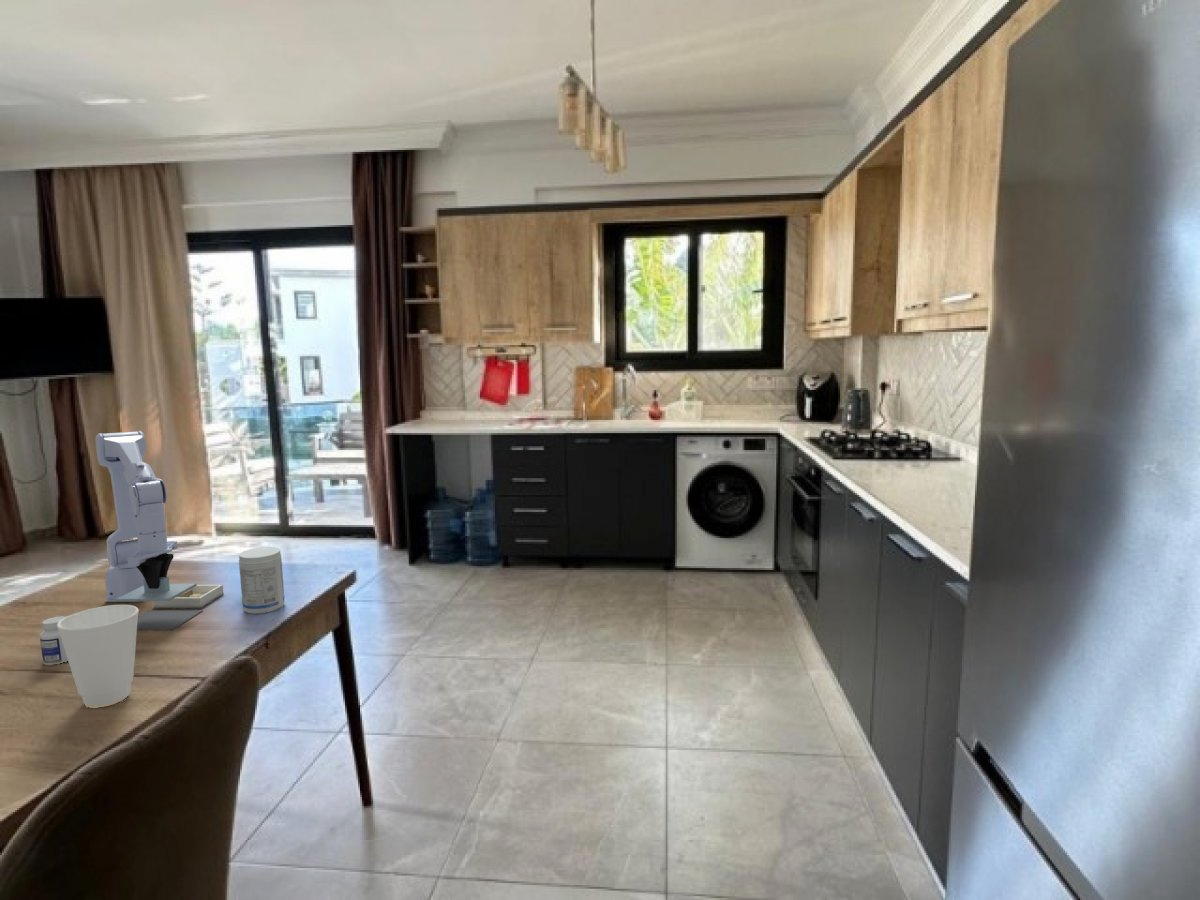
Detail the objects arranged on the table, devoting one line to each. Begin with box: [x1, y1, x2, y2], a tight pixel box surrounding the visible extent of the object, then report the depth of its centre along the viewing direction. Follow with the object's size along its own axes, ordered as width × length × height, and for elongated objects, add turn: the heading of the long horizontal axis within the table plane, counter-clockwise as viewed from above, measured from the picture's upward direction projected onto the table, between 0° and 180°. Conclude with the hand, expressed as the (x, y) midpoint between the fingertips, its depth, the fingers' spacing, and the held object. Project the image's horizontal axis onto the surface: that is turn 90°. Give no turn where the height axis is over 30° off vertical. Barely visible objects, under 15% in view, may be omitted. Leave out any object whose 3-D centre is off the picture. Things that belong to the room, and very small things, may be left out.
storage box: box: [152, 584, 224, 609], centre depth 169 cm, size 12×10×3 cm
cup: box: [57, 604, 140, 706], centre depth 119 cm, size 12×12×16 cm
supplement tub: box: [238, 546, 286, 615], centre depth 163 cm, size 10×10×15 cm
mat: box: [137, 609, 204, 631], centre depth 156 cm, size 14×12×1 cm
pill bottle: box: [39, 615, 68, 666], centre depth 135 cm, size 5×5×9 cm
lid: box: [115, 576, 198, 603], centre depth 155 cm, size 12×10×4 cm
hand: (156, 586), depth 155 cm, fingers closed on lid, 2 cm apart
